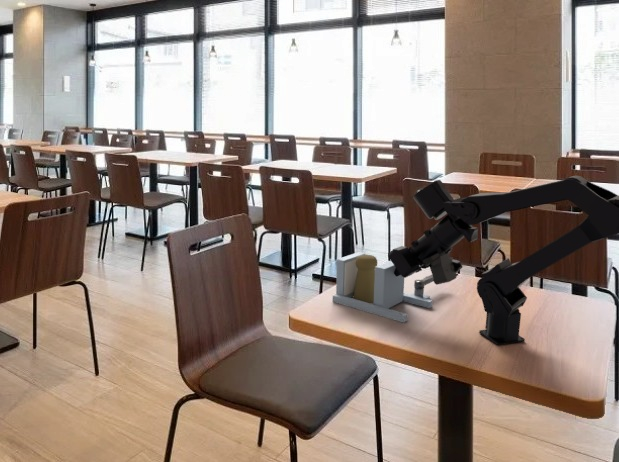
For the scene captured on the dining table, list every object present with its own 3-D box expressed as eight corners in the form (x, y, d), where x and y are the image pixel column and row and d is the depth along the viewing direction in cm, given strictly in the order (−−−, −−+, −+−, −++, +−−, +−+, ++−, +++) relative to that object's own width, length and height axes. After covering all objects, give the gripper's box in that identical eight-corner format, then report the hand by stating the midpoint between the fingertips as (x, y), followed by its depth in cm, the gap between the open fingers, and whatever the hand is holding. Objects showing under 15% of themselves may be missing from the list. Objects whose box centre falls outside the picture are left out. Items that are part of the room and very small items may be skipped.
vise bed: (441, 301, 129) (443, 261, 127) (403, 322, 116) (405, 278, 114) (371, 283, 142) (373, 247, 140) (331, 300, 129) (331, 260, 126)
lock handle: (421, 290, 129) (421, 282, 128) (412, 288, 130) (412, 280, 130) (445, 278, 138) (446, 270, 138) (437, 276, 140) (437, 268, 139)
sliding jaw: (403, 300, 128) (405, 260, 126) (382, 311, 122) (384, 269, 120) (393, 298, 130) (395, 258, 128) (372, 308, 123) (374, 266, 121)
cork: (377, 295, 133) (379, 252, 130) (378, 304, 127) (379, 259, 124) (353, 294, 133) (354, 251, 131) (352, 303, 127) (353, 258, 125)
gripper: (445, 277, 105) (394, 315, 114) (484, 258, 118) (435, 293, 128) (412, 231, 108) (365, 272, 117) (454, 218, 122) (408, 255, 131)
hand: (395, 274), depth 123 cm, fingers closed, pressing on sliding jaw
